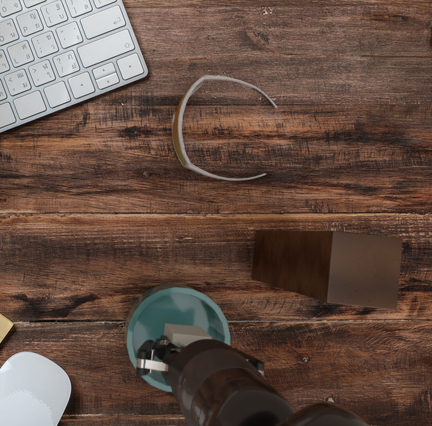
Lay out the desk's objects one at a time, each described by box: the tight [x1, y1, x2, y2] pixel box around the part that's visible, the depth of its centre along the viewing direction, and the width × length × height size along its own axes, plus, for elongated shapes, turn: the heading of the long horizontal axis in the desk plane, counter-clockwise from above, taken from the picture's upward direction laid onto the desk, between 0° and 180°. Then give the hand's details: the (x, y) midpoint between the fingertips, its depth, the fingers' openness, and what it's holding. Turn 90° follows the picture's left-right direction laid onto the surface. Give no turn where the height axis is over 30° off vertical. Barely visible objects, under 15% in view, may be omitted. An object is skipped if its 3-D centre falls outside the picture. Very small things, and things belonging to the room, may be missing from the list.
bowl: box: [123, 282, 232, 393], centre depth 65 cm, size 14×14×5 cm
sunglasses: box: [171, 74, 278, 182], centre depth 67 cm, size 14×15×5 cm
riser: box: [251, 229, 404, 311], centre depth 58 cm, size 7×7×22 cm
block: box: [164, 323, 212, 346], centre depth 58 cm, size 4×4×6 cm
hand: (183, 345), depth 60 cm, fingers closed on block, 4 cm apart
